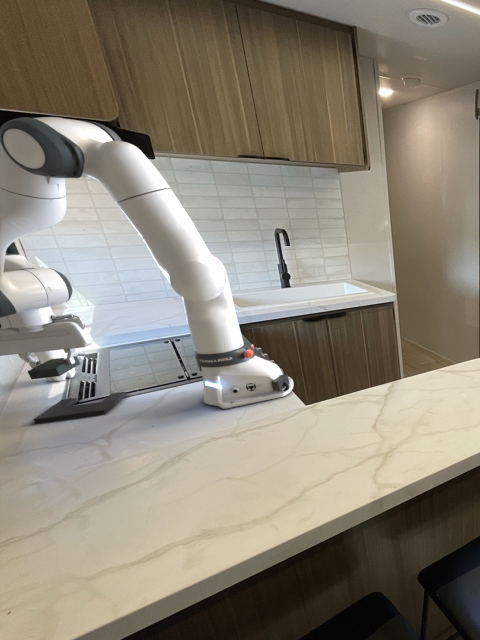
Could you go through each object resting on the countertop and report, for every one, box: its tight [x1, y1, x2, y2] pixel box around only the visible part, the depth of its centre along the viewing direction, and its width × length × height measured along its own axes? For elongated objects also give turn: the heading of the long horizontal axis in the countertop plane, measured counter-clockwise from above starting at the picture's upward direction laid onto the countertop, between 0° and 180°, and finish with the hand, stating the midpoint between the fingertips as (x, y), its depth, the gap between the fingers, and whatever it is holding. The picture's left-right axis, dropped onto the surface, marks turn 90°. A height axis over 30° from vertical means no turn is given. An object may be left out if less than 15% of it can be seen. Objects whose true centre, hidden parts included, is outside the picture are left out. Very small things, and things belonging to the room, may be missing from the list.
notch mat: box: [33, 391, 127, 424], centre depth 107 cm, size 14×12×1 cm
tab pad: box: [27, 356, 81, 380], centre depth 113 cm, size 6×10×2 cm, turn 20°
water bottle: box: [33, 350, 76, 382], centre depth 122 cm, size 7×7×25 cm
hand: (53, 365), depth 112 cm, fingers closed on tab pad, 6 cm apart
